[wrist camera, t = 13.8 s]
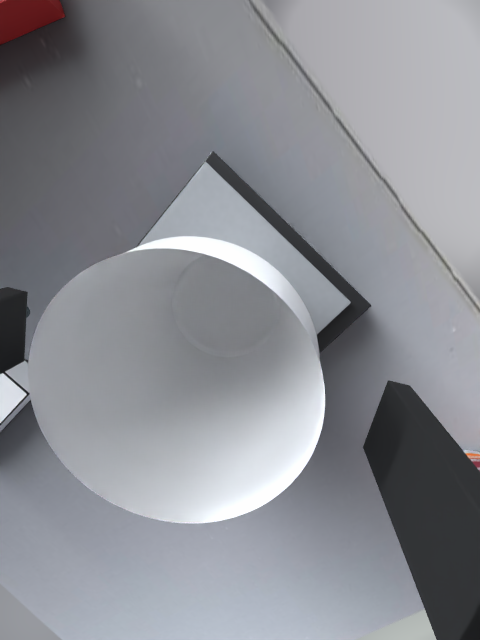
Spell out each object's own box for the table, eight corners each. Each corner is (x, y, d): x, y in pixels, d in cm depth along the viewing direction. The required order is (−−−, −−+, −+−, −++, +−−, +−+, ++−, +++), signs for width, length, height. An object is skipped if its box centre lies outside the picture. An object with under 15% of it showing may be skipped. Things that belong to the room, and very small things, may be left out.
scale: (360, 295, 24) (374, 307, 21) (242, 405, 27) (238, 431, 24) (220, 159, 23) (210, 148, 19) (112, 292, 26) (88, 303, 22)
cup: (143, 353, 23) (14, 485, 12) (168, 212, 20) (32, 202, 9) (277, 388, 23) (282, 559, 11) (319, 251, 20) (379, 290, 9)
